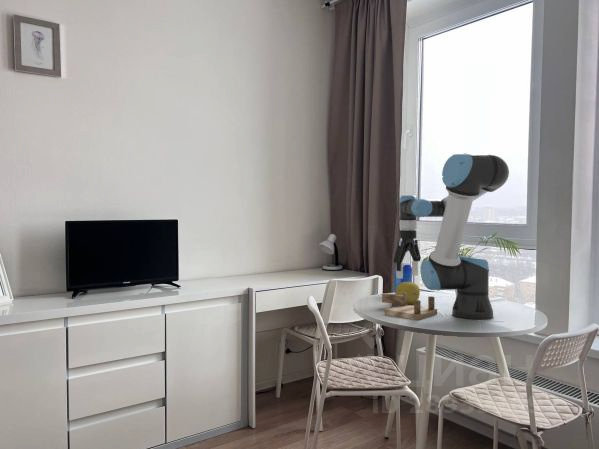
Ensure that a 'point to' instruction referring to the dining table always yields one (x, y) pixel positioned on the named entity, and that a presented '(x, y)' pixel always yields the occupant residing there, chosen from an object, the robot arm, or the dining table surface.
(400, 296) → the hinge leg
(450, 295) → the dining table surface
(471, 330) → the dining table surface
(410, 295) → the fruit
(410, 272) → the beer can
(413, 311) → the stool seat
